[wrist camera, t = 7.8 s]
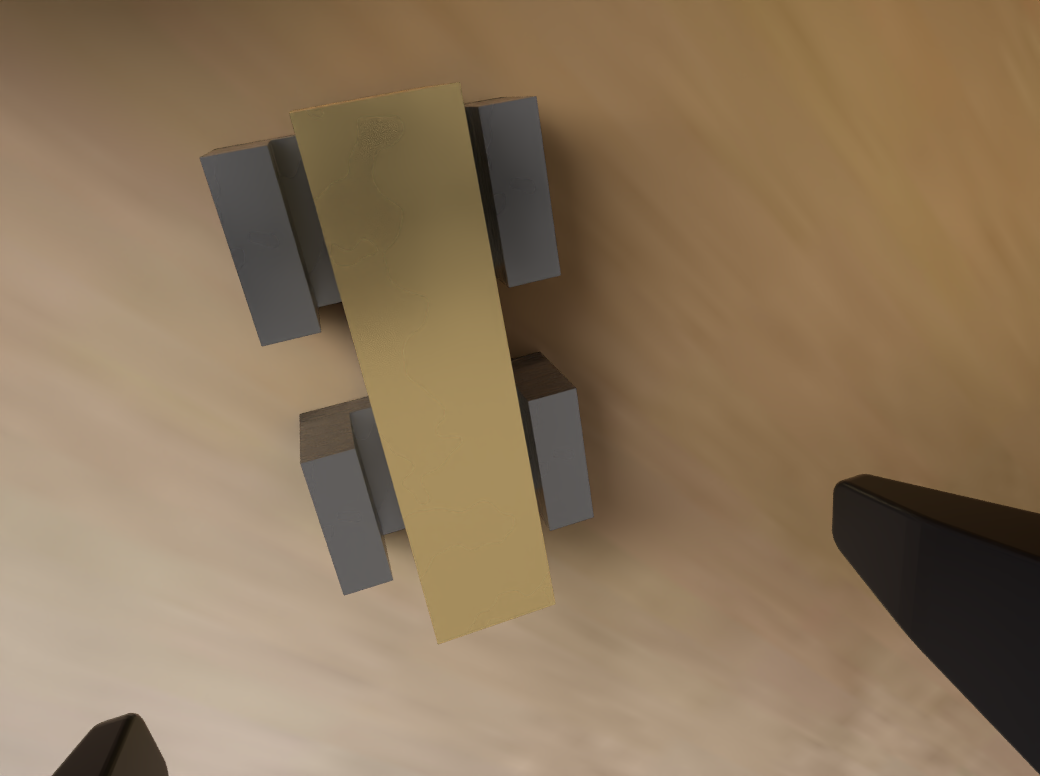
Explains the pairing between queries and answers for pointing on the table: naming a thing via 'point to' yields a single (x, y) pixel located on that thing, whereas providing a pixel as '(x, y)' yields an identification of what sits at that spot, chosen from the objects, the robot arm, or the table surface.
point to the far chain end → (369, 488)
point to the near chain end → (299, 238)
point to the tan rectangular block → (431, 345)
